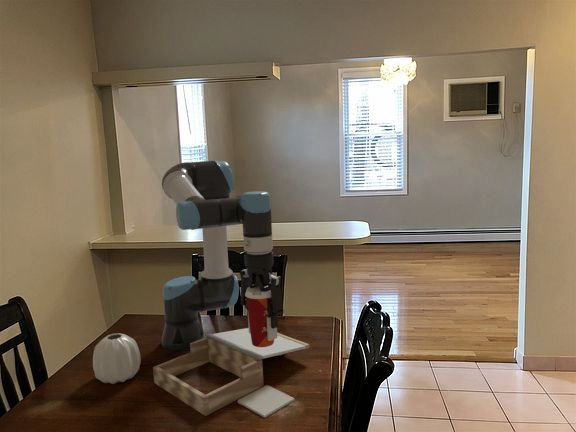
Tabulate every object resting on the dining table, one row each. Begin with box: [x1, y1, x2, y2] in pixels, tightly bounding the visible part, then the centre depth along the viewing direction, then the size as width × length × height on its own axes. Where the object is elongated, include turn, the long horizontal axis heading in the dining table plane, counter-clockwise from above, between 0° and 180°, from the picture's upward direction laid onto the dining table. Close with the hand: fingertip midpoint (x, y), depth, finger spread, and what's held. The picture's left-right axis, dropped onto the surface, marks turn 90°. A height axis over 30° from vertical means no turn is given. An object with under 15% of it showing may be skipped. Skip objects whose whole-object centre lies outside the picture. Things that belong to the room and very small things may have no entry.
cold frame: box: [152, 336, 264, 417], centre depth 137 cm, size 26×20×8 cm
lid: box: [206, 327, 310, 361], centre depth 151 cm, size 26×22×5 cm
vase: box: [92, 332, 142, 385], centre depth 143 cm, size 14×14×13 cm
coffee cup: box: [245, 285, 274, 347], centre depth 123 cm, size 8×8×15 cm
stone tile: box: [237, 385, 295, 419], centre depth 127 cm, size 11×11×1 cm
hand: (262, 335), depth 124 cm, fingers closed on coffee cup, 7 cm apart
